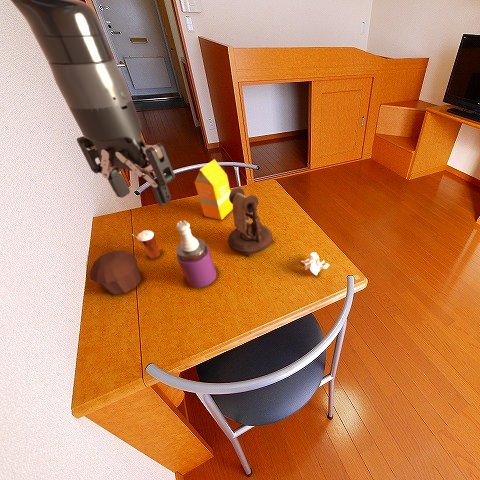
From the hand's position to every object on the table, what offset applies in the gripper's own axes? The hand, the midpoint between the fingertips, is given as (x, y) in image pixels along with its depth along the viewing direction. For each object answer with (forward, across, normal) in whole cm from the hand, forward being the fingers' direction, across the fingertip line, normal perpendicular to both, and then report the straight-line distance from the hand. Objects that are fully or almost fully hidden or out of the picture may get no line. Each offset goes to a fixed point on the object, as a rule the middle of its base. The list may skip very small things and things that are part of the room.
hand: (144, 199), depth 48 cm
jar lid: (+24, -7, +13) cm, 28 cm away
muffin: (+36, -27, +4) cm, 45 cm away
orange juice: (+36, -20, +44) cm, 60 cm away
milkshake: (+36, -27, +16) cm, 48 cm away
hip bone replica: (+36, +24, +26) cm, 51 cm away
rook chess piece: (+24, -7, +12) cm, 28 cm away
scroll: (+36, 0, +31) cm, 48 cm away
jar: (+36, -7, +13) cm, 39 cm away
